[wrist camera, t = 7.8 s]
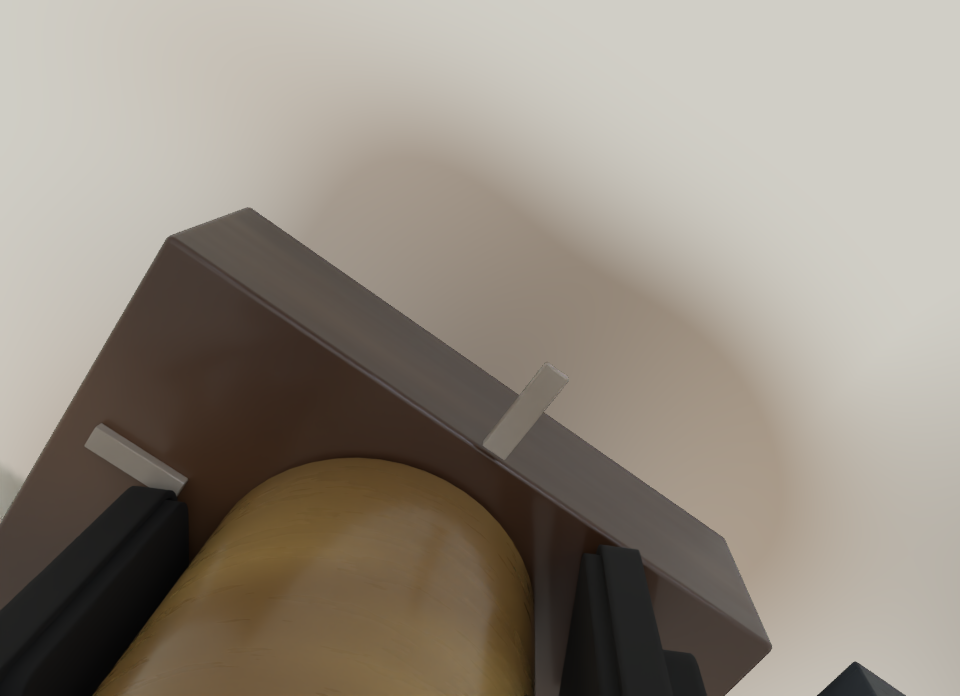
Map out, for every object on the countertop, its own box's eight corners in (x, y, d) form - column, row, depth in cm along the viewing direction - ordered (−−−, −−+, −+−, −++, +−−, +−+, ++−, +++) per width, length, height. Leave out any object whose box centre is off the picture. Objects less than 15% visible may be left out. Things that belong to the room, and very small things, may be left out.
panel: (362, 919, 17) (326, 1091, 14) (-45, 685, 16) (-178, 819, 13) (784, 476, 14) (856, 583, 11) (296, 126, 12) (220, 133, 9)
